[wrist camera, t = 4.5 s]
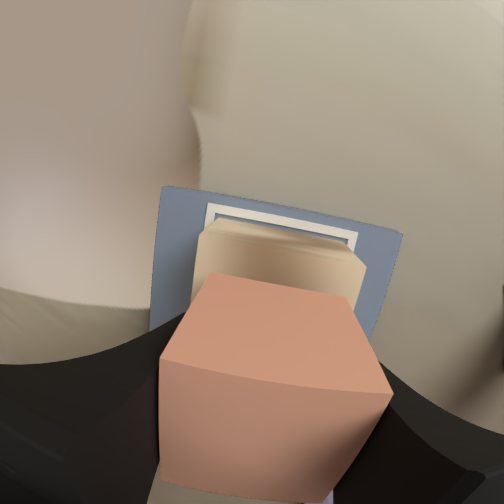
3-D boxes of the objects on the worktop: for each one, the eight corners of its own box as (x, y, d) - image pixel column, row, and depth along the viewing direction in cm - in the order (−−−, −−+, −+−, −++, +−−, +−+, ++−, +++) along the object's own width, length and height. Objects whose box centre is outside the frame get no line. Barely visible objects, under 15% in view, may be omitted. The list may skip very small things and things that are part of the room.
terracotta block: (345, 296, 10) (393, 393, 5) (310, 398, 11) (321, 503, 6) (210, 271, 10) (159, 357, 5) (196, 378, 11) (160, 480, 6)
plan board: (395, 230, 15) (403, 235, 14) (307, 458, 20) (308, 468, 19) (168, 185, 15) (161, 186, 14) (154, 431, 20) (150, 440, 19)
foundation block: (343, 241, 14) (366, 266, 11) (312, 349, 16) (321, 396, 12) (218, 217, 15) (199, 234, 11) (202, 328, 16) (183, 372, 12)
